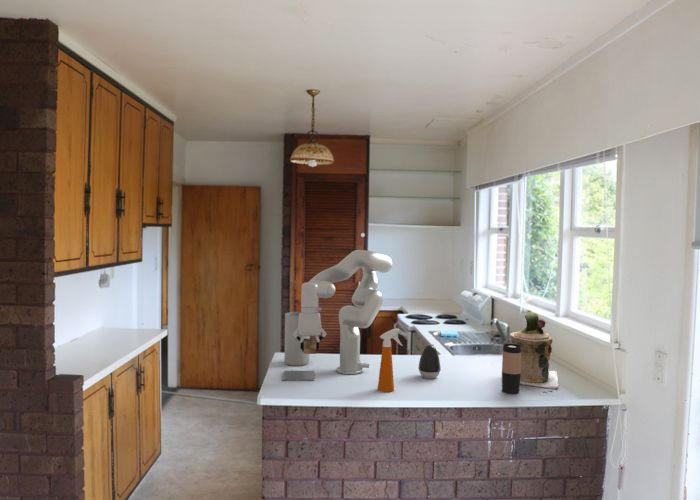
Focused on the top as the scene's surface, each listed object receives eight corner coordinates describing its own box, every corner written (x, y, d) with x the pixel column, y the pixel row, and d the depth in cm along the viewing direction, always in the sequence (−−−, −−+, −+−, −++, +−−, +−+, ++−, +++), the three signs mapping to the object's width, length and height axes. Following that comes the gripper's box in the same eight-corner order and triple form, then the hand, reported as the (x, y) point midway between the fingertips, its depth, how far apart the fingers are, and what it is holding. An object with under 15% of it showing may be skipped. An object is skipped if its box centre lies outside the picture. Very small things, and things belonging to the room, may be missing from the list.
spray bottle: (404, 391, 220) (406, 329, 218) (380, 393, 217) (382, 330, 215) (398, 386, 226) (400, 326, 225) (375, 387, 223) (376, 327, 222)
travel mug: (498, 388, 226) (500, 343, 225) (515, 388, 226) (517, 343, 225) (505, 394, 218) (506, 347, 217) (522, 394, 219) (524, 347, 218)
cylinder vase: (302, 367, 253) (303, 316, 252) (280, 364, 258) (280, 314, 256) (313, 361, 265) (314, 313, 264) (291, 358, 269) (292, 311, 268)
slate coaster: (314, 372, 246) (314, 370, 246) (313, 380, 232) (313, 379, 232) (284, 371, 245) (284, 370, 245) (282, 380, 231) (282, 379, 231)
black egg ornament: (442, 375, 244) (443, 343, 243) (437, 381, 235) (437, 348, 234) (422, 372, 248) (422, 341, 248) (415, 378, 239) (416, 345, 238)
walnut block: (315, 350, 233) (315, 338, 232) (316, 353, 227) (316, 341, 227) (303, 350, 232) (303, 338, 232) (303, 353, 227) (303, 341, 226)
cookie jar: (500, 383, 234) (503, 313, 233) (504, 369, 257) (506, 305, 256) (559, 390, 226) (562, 317, 224) (557, 375, 249) (559, 309, 248)
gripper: (328, 308, 233) (328, 348, 234) (290, 309, 231) (290, 349, 233) (329, 311, 226) (329, 352, 227) (290, 312, 224) (290, 353, 225)
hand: (309, 350), depth 230 cm, fingers closed on walnut block, 5 cm apart
